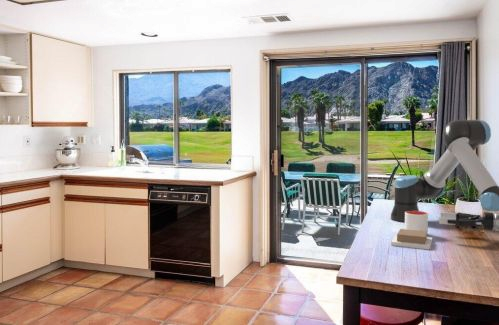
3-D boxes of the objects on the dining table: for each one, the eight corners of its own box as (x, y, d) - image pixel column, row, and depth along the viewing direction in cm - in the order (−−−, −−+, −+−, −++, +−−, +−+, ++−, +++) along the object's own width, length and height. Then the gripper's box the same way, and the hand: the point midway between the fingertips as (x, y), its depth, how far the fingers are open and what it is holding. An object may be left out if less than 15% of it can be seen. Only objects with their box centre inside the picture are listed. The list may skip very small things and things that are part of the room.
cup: (430, 233, 205) (431, 212, 204) (422, 237, 197) (423, 215, 197) (409, 230, 212) (410, 209, 211) (400, 234, 204) (401, 212, 203)
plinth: (395, 237, 198) (396, 227, 198) (432, 240, 192) (432, 230, 191) (391, 245, 185) (391, 234, 184) (429, 249, 178) (430, 238, 178)
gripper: (495, 236, 179) (438, 231, 188) (491, 224, 202) (440, 221, 211) (495, 217, 179) (438, 214, 188) (491, 208, 201) (441, 205, 210)
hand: (439, 217), depth 199 cm, fingers open, 13 cm apart
